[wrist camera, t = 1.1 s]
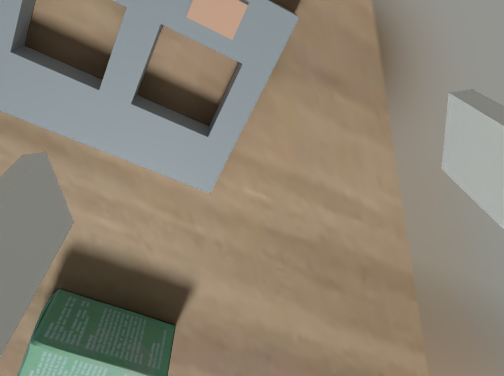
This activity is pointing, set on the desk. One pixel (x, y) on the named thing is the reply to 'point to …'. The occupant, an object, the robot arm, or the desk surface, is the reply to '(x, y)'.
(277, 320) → the desk surface
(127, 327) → the box
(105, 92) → the socket board
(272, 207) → the desk surface
